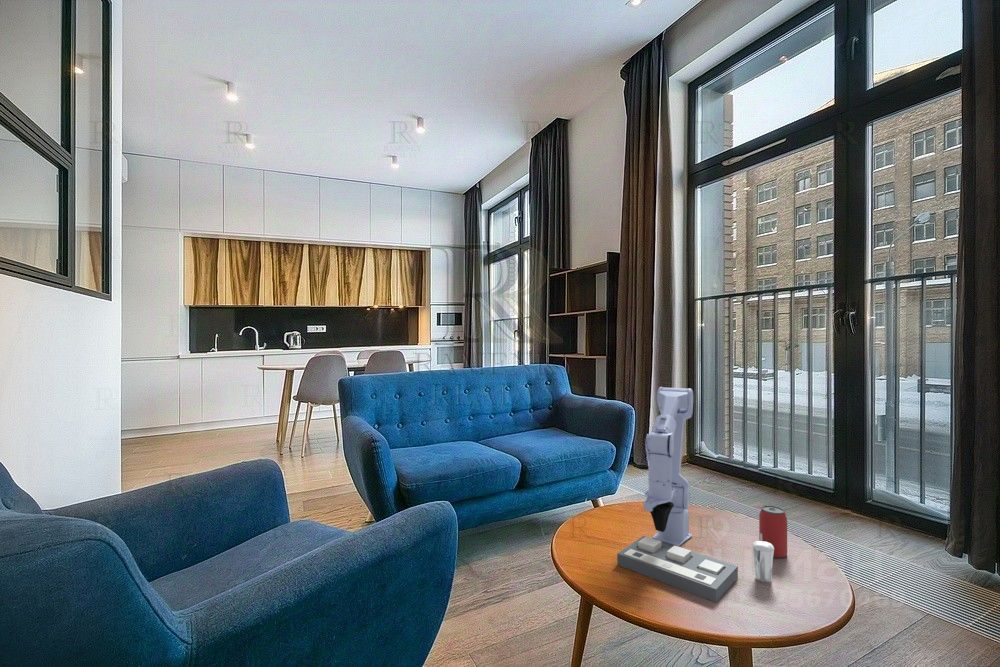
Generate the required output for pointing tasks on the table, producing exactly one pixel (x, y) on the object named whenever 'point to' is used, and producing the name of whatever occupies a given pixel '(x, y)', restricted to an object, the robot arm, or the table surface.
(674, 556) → the key middle
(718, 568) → the key
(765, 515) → the beer can
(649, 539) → the key
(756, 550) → the milkshake
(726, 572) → the button board
